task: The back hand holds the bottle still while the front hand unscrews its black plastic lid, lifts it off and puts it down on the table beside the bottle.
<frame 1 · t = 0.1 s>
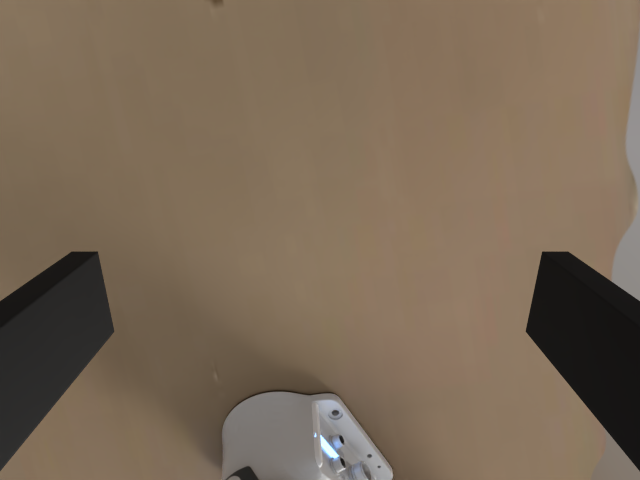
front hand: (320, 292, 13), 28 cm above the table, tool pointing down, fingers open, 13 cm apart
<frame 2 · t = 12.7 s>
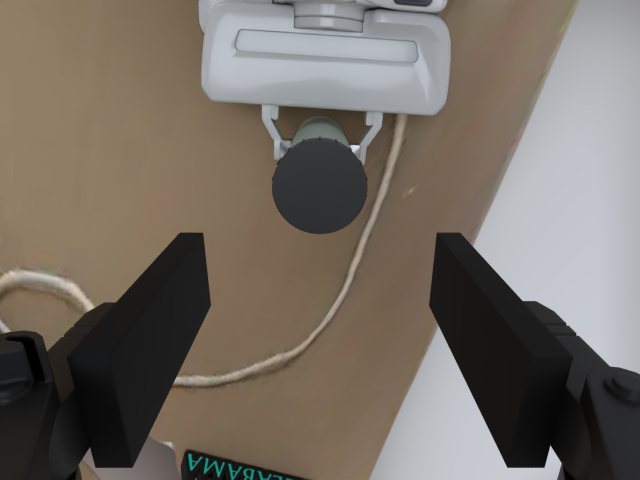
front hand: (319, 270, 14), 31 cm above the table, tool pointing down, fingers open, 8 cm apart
back hand: (319, 161, 38), fingers closed on bottle, 5 cm apart
bottle: (320, 142, 43), on the table, touching back hand
decorative sign: (249, 470, 59), on the table
lid: (319, 188, 25), point 20 cm above the table, screwed on, not yet turned
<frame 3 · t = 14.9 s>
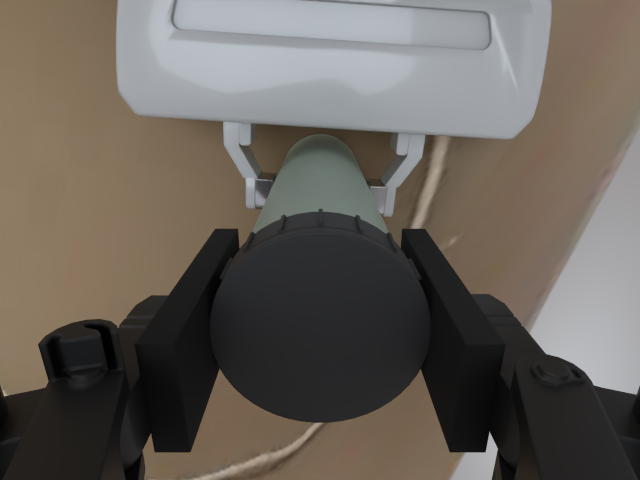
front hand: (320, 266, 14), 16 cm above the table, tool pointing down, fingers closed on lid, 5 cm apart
back hand: (320, 210, 24), fingers closed on bottle, 5 cm apart
bottle: (320, 172, 29), on the table, touching back hand
lid: (320, 329, 11), point 20 cm above the table, screwed on, not yet turned, touching front hand
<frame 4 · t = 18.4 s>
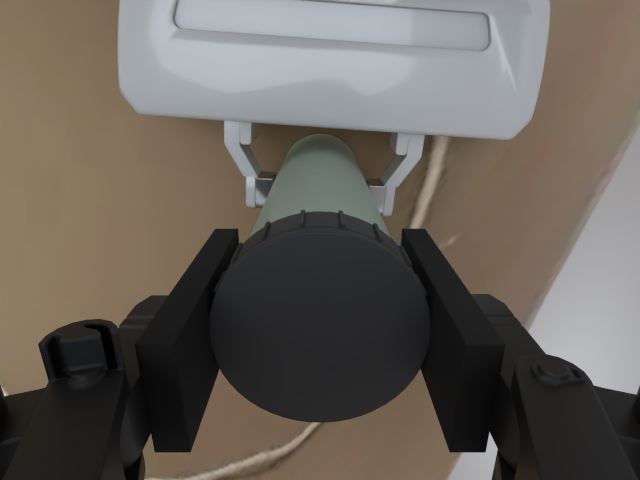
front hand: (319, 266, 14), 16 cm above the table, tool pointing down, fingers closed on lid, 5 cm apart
back hand: (319, 209, 24), fingers closed on bottle, 5 cm apart
bottle: (320, 171, 29), on the table, touching back hand
lid: (319, 328, 11), point 20 cm above the table, turned 109° so far, risen 0.1 cm, still on its thread, touching front hand
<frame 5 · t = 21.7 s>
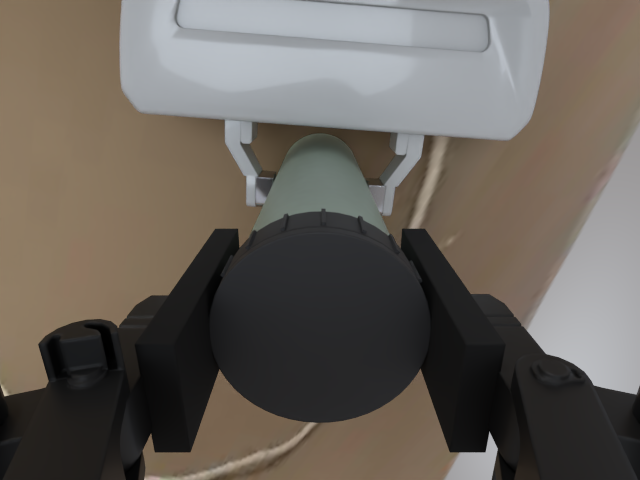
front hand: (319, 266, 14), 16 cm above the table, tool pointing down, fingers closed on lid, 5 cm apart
back hand: (319, 208, 24), fingers closed on bottle, 5 cm apart
bottle: (319, 171, 29), on the table, touching back hand
lid: (319, 329, 11), point 20 cm above the table, turned 219° so far, risen 0.3 cm, still on its thread, touching front hand
when the front hand's fingers open (0 cm above the table, at t = 33.7 s): lid drops 3 cm, point 1 cm above the table.
when the back hand's fingers open (6 cm above the table, at t = 34.4 s): bottle stays where it is, on the table.
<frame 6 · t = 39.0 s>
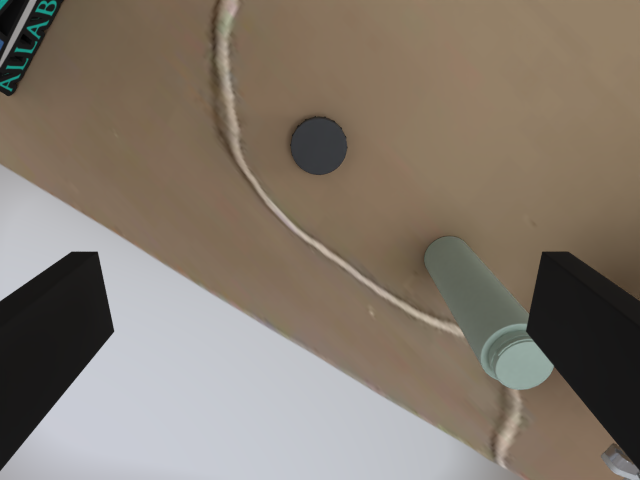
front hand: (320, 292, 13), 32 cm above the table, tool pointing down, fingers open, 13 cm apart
bottle: (446, 257, 48), on the table
decorative sign: (46, 3, 38), on the table
lid: (318, 146, 42), point 1 cm above the table, off its thread
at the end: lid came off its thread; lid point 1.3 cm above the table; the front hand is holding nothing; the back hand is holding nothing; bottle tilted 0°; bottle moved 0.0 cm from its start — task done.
